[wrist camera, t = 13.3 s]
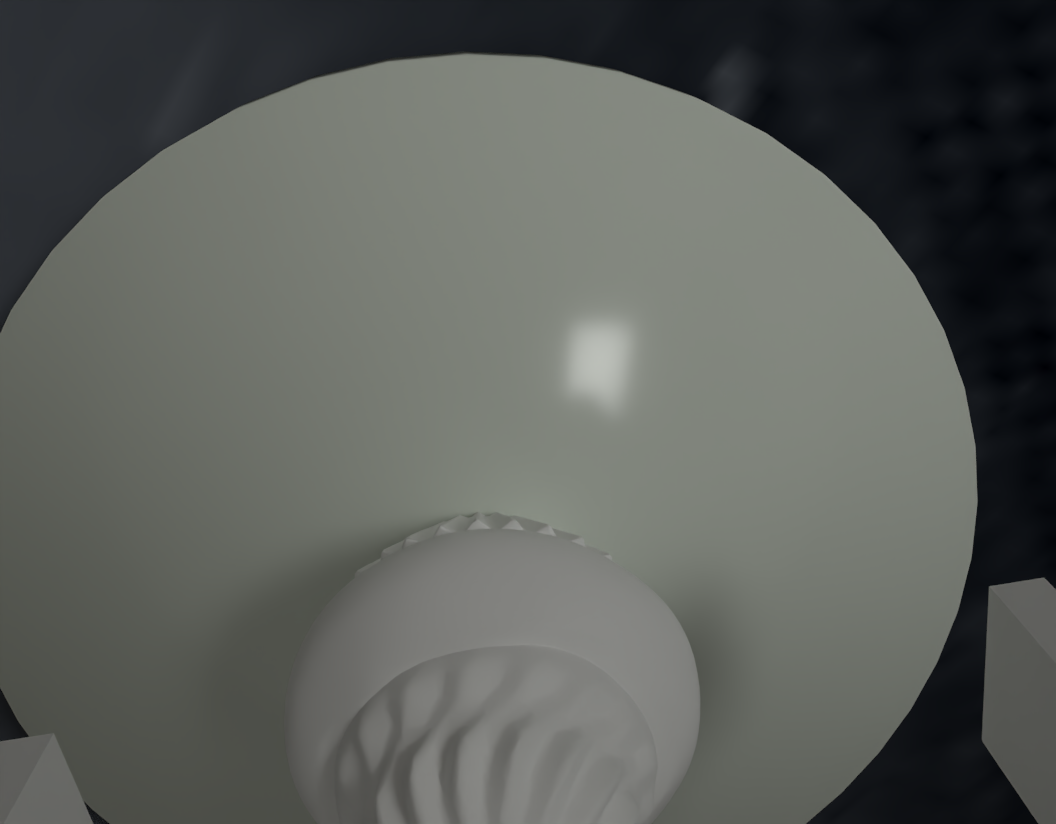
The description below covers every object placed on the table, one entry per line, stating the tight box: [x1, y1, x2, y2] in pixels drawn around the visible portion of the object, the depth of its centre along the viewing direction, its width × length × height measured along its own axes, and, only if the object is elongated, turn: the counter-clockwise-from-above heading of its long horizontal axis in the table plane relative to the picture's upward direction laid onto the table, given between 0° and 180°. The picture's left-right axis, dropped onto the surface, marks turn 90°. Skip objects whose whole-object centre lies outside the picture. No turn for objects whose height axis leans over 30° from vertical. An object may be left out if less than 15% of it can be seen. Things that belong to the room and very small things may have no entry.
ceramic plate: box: [0, 51, 977, 824], centre depth 18 cm, size 18×18×1 cm
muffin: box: [284, 512, 700, 824], centre depth 15 cm, size 6×6×7 cm
